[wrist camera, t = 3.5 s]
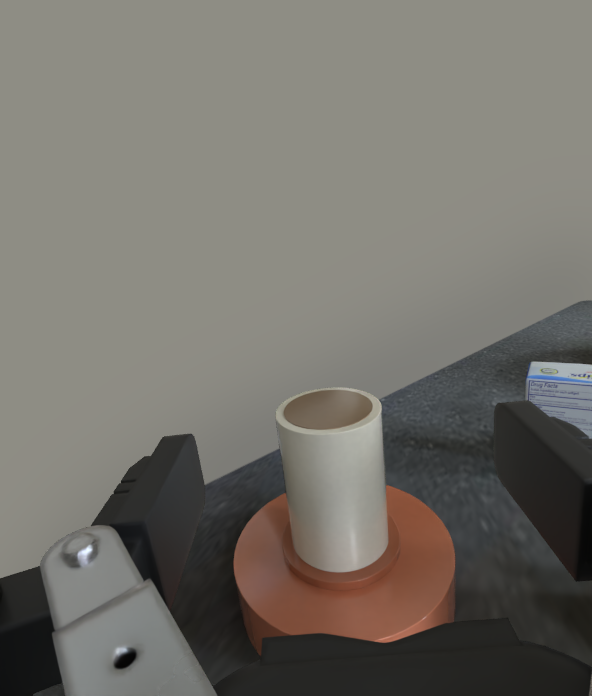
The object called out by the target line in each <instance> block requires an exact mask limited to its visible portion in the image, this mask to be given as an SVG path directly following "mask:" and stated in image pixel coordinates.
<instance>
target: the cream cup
mask: <svg viewBox="0 0 592 696" xmlns="http://www.w3.org/2000/svg"><path fill="white" fill-rule="evenodd" d="M275 418H276V424H277V432H278V439H279V447H280V454H281V462H282V469H283V476H284V484H285V491H286V498H287V505H288V513H289V520H290V527H291V535H292V542H293V546H294V549H295V551H296V553H297V554H298V556H299V557H300V558H301V559H302V560H303V561H305V562H306V563H307V564H309V565H311V566H312V567H315V568H317V569H320V570H323V571H328V572H351V571H355V570H359V569H362V568H364V567H367V566H369V565H370V564H372V563H373V562H375V561H376V560H377V559H379V558H380V557H381V555H382V554H383V553H384V551H385V550H386V548H387V545H388V541H389V526H388V509H387V491H386V474H385V457H384V439H383V422H382V406H381V403H380V402H379V400H378V399H377V398H376V397H374V396H373V395H371V394H369V393H367V392H364V391H361V390H356V389H350V388H323V389H317V390H311V391H307V392H303V393H301V394H297V395H295V396H293V397H291V398H289V399H287V400H286V401H284V402H283V403H282V404H281V405H280V406H279V407H278V408H277V410H276V414H275Z"/></svg>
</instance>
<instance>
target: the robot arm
mask: <svg viewBox="0 0 592 696" xmlns="http://www.w3.org/2000/svg"><path fill="white" fill-rule="evenodd" d="M494 465H495V469H496V473H497V475H498V478H499V479H500V481H501V483H502V484H503V485H504V487H505V488H506V489H507V491H508V492H509V493H510V495H511V496H512V497H513V499H514V500H515V501H516V502H517V504H518V505H519V506H520V508H521V509H522V510H523V512H524V513H525V514H526V516H527V517H528V518H529V520H530V521H531V522H532V524H533V525H534V526H535V528H536V529H537V530H538V532H539V533H540V534H541V536H542V537H543V538H544V540H545V541H546V542H547V544H548V545H549V546H550V548H551V549H552V550H553V552H554V553H555V554H556V556H557V557H558V558H559V560H560V561H561V562H562V564H563V565H564V566H565V568H566V569H567V570H568V572H569V573H570V574H571V576H572V577H573V578H574V579H575V581H576V582H577V581H589V580H592V439H589V436H588V435H586V434H585V433H584V432H583V431H581V430H580V429H579V428H577V427H576V426H575V425H573V424H570V423H568V422H565V421H563V420H561V419H558V418H556V417H549V416H548V415H547V414H546V413H544V412H543V411H542V410H541V409H539V408H538V407H537V406H536V405H535V404H533V403H532V402H531V401H528V400H525V401H516V402H506V403H498V404H497V405H496V407H495V411H494ZM204 505H205V485H204V480H203V475H202V470H201V465H200V460H199V455H198V451H197V445H196V441H195V438H194V436H193V435H192V434H183V435H174V436H164V437H163V438H162V439H161V441H160V442H159V444H158V446H157V447H156V449H155V451H154V452H153V454H152V455H151V456H146V457H143V458H142V459H141V460H140V461H138V462H137V463H136V464H134V465H133V466H132V467H130V468H129V470H128V471H127V473H126V474H125V476H124V477H123V479H122V480H121V483H120V484H119V485H118V486H117V488H116V489H115V490H114V494H112V495H111V496H110V498H109V500H108V501H107V502H106V504H105V506H104V507H103V508H102V510H101V512H100V513H99V514H98V516H97V517H96V519H95V520H94V522H93V523H92V525H91V526H90V527H86V528H83V529H80V530H77V531H75V532H72V533H71V534H68V535H67V536H65V537H63V538H62V539H60V540H59V541H58V542H56V543H55V544H54V545H53V546H52V547H50V549H49V550H48V551H47V552H46V553H45V555H44V556H43V558H42V560H41V563H40V566H38V567H36V568H32V569H29V570H26V571H23V572H19V573H16V574H13V575H10V576H7V577H4V578H0V696H32V695H33V694H34V693H36V692H39V691H41V690H44V689H47V688H49V687H52V686H54V685H57V684H60V683H62V682H63V686H64V690H65V695H66V696H592V667H590V666H588V665H587V664H585V663H583V662H581V661H579V660H577V659H575V658H573V657H571V656H569V655H567V654H564V653H562V652H560V651H557V650H554V649H551V648H549V647H546V646H542V645H539V644H535V643H531V642H527V641H521V640H519V639H518V637H517V635H516V633H515V631H514V629H513V627H512V625H511V623H510V621H509V619H508V618H499V619H486V620H474V621H461V622H449V623H444V624H441V625H438V626H436V627H433V628H430V629H427V630H424V631H421V632H418V633H415V634H413V635H410V636H407V637H404V638H401V639H398V640H395V641H392V642H387V643H382V642H375V641H369V640H363V639H356V638H350V637H344V636H338V635H332V634H326V633H313V634H301V635H288V636H276V637H264V638H262V648H261V659H260V660H259V661H256V662H254V663H251V664H249V665H247V666H245V667H243V668H241V669H239V670H237V671H235V672H233V673H232V674H230V675H229V676H227V677H225V678H224V679H223V680H221V681H220V682H219V683H218V684H216V685H215V686H214V687H212V685H211V683H210V682H209V680H208V678H207V676H206V675H205V673H204V671H203V669H202V668H201V666H200V664H199V662H198V661H197V659H196V657H195V655H194V654H193V652H192V650H191V648H190V647H189V645H188V643H187V641H186V640H185V638H184V636H183V634H182V633H181V631H180V629H179V627H178V626H177V624H176V622H175V620H174V619H173V617H172V615H171V613H170V610H171V607H172V604H173V601H174V598H175V595H176V592H177V589H178V586H179V583H180V580H181V576H182V573H183V570H184V567H185V564H186V561H187V558H188V555H189V552H190V549H191V546H192V543H193V540H194V537H195V534H196V531H197V528H198V525H199V522H200V518H201V515H202V512H203V509H204Z"/></svg>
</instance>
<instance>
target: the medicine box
mask: <svg viewBox="0 0 592 696" xmlns="http://www.w3.org/2000/svg"><path fill="white" fill-rule="evenodd" d="M525 400H528V401H531V402H532V403H533V404H535V405H536V406H537V407H538V408H539V409H541V410H542V411H543V412H544V413H546V414H547V415H548V416H549V417H556V418H558V419H561V420H563V421H565V422H568V423H570V424H573V425H575V426H576V427H577V428H579V429H580V430H581V431H583V432H584V433H585V434H586V435H588V436H589V439H592V365H588V364H572V363H552V362H530V363H529V367H528V371H527V376H526V393H525Z"/></svg>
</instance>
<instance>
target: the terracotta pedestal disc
mask: <svg viewBox="0 0 592 696" xmlns="http://www.w3.org/2000/svg"><path fill="white" fill-rule="evenodd" d="M386 491H387V509H388V526H389V541H388V545H387V548H386V550H385V551H384V553H383V554H382V555H381V557H380V558H379V559H377V560H376V561H375V562H373V563H372V564H370V565H369V566H367V567H364V568H362V569H359V570H355V571H351V572H328V571H323V570H320V569H317V568H315V567H312V566H311V565H309V564H307V563H306V562H305V561H303V560H302V559H301V558H300V557H299V556H298V554H297V553H296V551H295V549H294V546H293V542H292V535H291V527H290V520H289V513H288V505H287V498H286V493H284V494H282V495H280V496H278V497H277V498H275V499H274V500H272V501H270V502H269V503H268V504H266V505H265V506H264V507H262V508H261V509H260V510H259V511H258V512H257V513H256V514H255V515H254V516H253V517H252V518H251V520H250V521H249V522H248V523H247V525H246V526H245V528H244V529H243V531H242V533H241V535H240V537H239V539H238V542H237V545H236V549H235V552H234V562H233V565H234V576H235V581H236V586H237V591H238V597H239V602H240V607H241V613H242V618H243V622H244V626H245V630H246V632H247V634H248V637H249V639H250V641H251V643H252V645H253V646H254V648H255V649H256V651H257V653H258V654H259V655H260V656H261V648H262V638H264V637H276V636H288V635H301V634H313V633H326V634H332V635H338V636H344V637H350V638H356V639H363V640H369V641H375V642H382V643H387V642H392V641H395V640H398V639H401V638H404V637H407V636H410V635H413V634H415V633H418V632H421V631H424V630H427V629H430V628H433V627H436V626H438V625H441V624H444V623H449V622H454V618H455V551H454V546H453V542H452V540H451V537H450V534H449V532H448V531H447V529H446V527H445V525H444V524H443V522H442V521H441V520H440V518H439V517H438V516H437V515H436V514H435V513H434V512H433V511H432V510H431V509H430V508H429V507H428V506H427V505H425V504H424V503H423V502H421V501H420V500H418V499H417V498H415V497H413V496H412V495H410V494H408V493H406V492H404V491H402V490H399V489H397V488H394V487H391V486H388V485H386Z"/></svg>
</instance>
